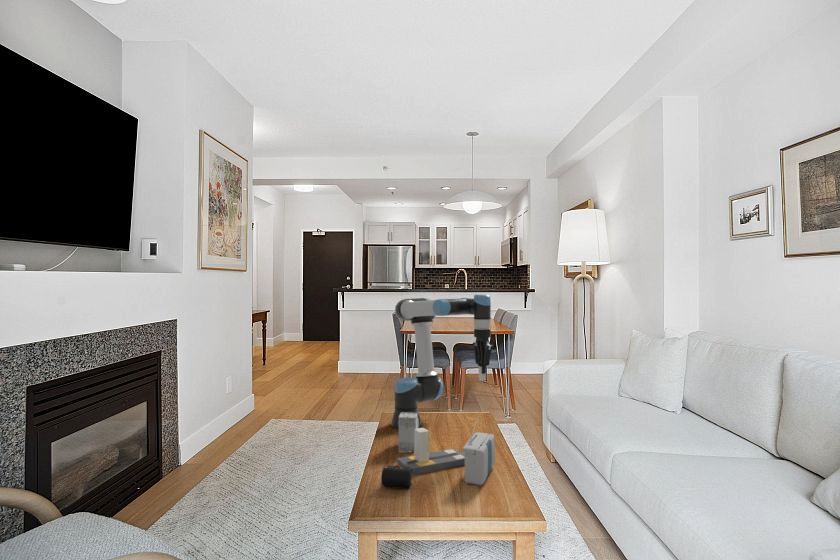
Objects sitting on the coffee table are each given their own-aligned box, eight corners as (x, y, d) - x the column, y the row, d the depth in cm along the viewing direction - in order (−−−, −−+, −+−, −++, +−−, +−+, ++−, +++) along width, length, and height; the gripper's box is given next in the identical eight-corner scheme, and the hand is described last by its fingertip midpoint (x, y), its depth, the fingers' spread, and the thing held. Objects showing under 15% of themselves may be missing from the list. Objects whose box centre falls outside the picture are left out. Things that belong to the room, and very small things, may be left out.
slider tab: (414, 458, 193) (414, 428, 193) (423, 456, 194) (423, 427, 194) (419, 462, 188) (419, 432, 188) (428, 461, 190) (428, 431, 190)
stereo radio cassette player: (484, 488, 172) (484, 431, 172) (461, 484, 174) (461, 429, 174) (495, 466, 191) (495, 416, 191) (475, 464, 194) (475, 414, 194)
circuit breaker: (419, 441, 221) (419, 409, 221) (415, 452, 207) (415, 417, 207) (402, 441, 221) (402, 408, 222) (398, 452, 207) (398, 417, 207)
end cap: (381, 490, 170) (381, 470, 170) (386, 481, 177) (386, 463, 177) (408, 492, 168) (408, 473, 168) (413, 484, 175) (413, 465, 175)
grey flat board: (397, 464, 193) (397, 458, 193) (453, 454, 204) (453, 448, 204) (409, 475, 182) (409, 468, 182) (468, 464, 194) (468, 457, 194)
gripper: (497, 329, 215) (497, 382, 215) (481, 326, 227) (481, 377, 227) (483, 330, 212) (483, 384, 212) (467, 327, 223) (467, 378, 223)
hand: (482, 380), depth 219 cm, fingers closed
